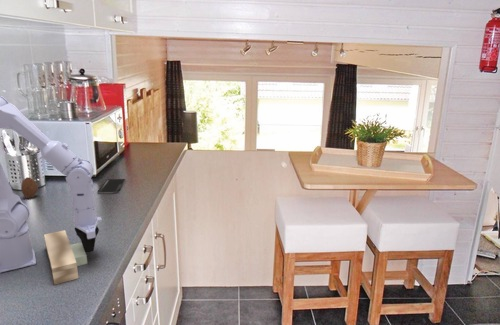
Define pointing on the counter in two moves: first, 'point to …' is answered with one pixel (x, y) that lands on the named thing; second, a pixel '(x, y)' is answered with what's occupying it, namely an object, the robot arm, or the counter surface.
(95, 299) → the counter surface
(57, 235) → the overhang shelf
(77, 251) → the pale green slab
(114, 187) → the phone
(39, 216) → the counter surface
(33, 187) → the coconut
